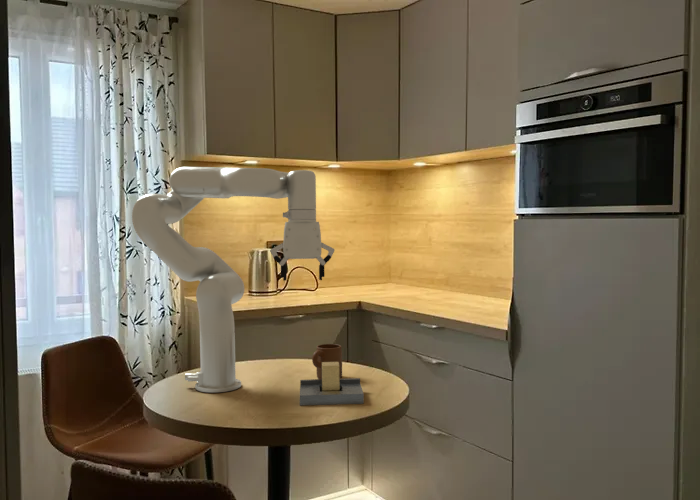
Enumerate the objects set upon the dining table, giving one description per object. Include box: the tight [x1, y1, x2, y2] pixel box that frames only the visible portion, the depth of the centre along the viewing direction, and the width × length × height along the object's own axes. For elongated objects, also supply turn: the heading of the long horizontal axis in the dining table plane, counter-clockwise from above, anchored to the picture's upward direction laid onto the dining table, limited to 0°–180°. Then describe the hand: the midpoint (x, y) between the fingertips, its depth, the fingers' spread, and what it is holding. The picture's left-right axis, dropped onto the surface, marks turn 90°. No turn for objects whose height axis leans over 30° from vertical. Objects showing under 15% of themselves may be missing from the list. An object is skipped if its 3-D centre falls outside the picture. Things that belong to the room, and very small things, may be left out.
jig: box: [299, 377, 365, 406], centre depth 162 cm, size 16×12×4 cm
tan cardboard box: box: [322, 362, 340, 392], centre depth 162 cm, size 4×4×9 cm
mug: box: [311, 343, 343, 379], centre depth 182 cm, size 12×8×9 cm, turn 149°
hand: (302, 280), depth 169 cm, fingers open, 9 cm apart
